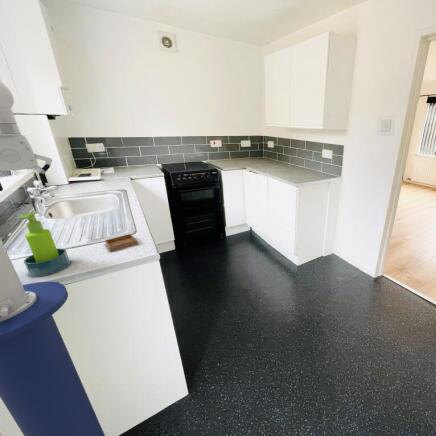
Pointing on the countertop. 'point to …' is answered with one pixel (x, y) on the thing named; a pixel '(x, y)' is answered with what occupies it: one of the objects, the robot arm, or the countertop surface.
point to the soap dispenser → (39, 239)
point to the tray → (120, 242)
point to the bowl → (47, 264)
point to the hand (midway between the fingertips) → (23, 187)
